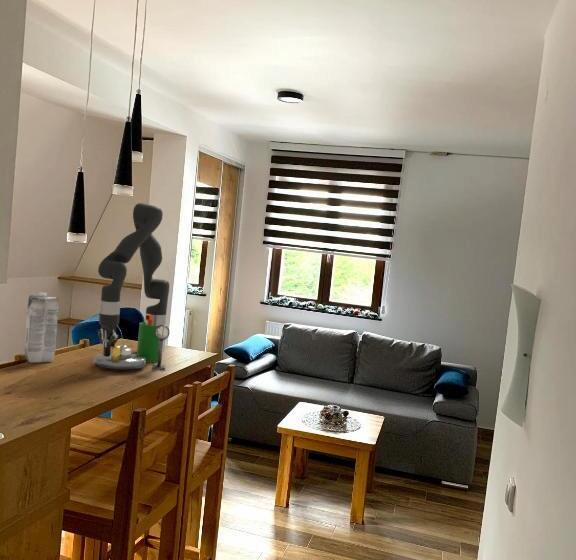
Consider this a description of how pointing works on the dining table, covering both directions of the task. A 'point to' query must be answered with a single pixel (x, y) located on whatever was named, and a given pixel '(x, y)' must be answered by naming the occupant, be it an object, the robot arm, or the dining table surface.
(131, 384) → the dining table surface
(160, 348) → the metal disc on rod
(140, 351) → the green bottle
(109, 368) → the turntable base
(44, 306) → the juice carton
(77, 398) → the dining table surface
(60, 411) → the dining table surface
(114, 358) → the turntable
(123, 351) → the cover
